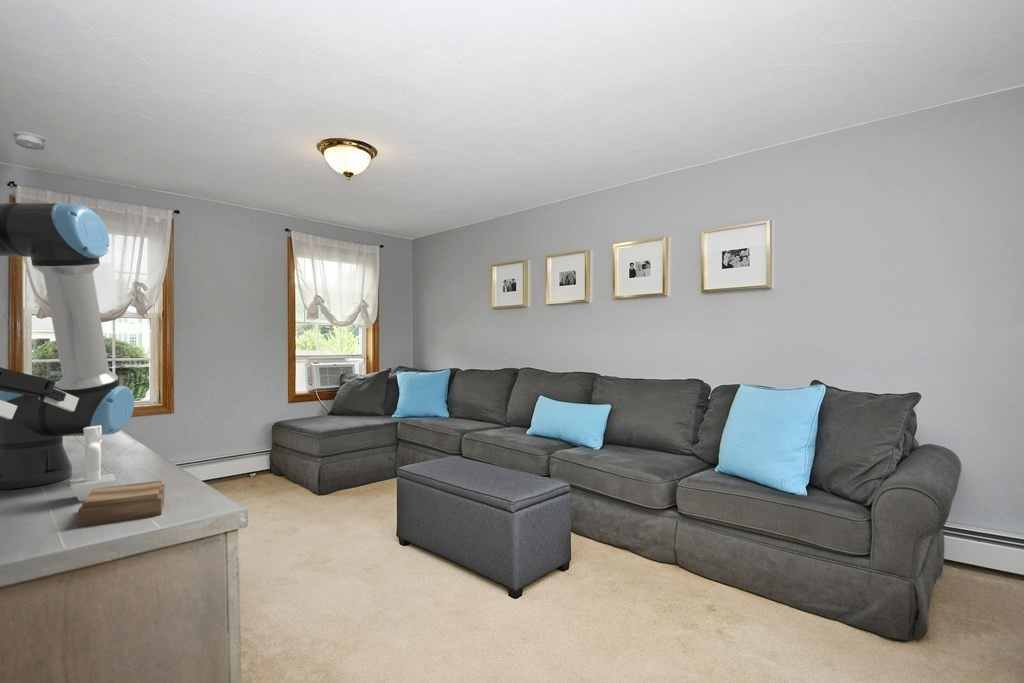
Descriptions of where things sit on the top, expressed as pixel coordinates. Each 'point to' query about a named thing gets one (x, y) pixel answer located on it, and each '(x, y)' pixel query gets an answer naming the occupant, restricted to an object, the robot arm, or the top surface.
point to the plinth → (122, 503)
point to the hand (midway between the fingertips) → (44, 408)
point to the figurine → (91, 466)
